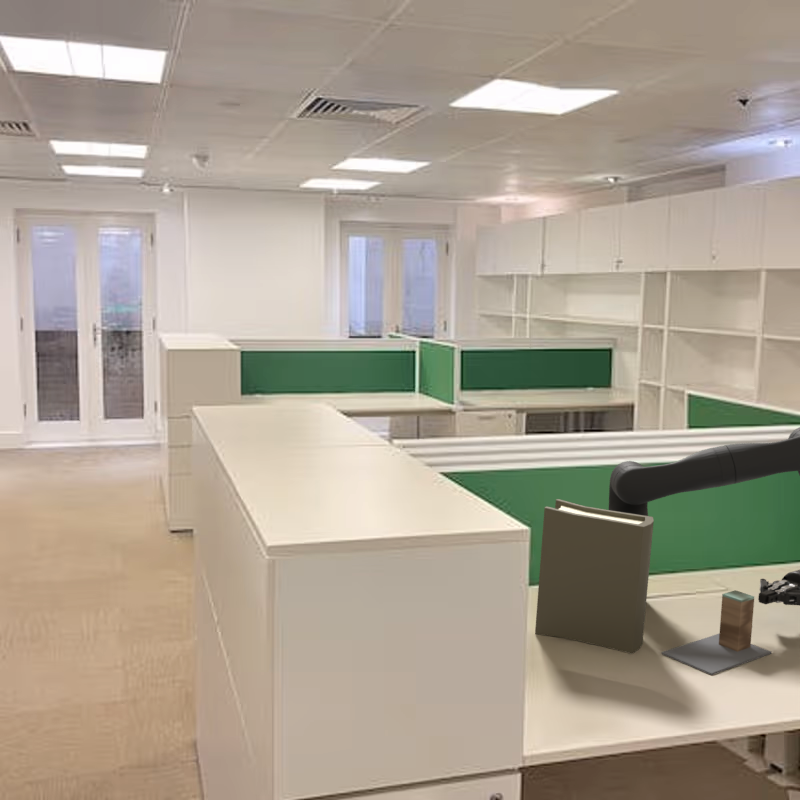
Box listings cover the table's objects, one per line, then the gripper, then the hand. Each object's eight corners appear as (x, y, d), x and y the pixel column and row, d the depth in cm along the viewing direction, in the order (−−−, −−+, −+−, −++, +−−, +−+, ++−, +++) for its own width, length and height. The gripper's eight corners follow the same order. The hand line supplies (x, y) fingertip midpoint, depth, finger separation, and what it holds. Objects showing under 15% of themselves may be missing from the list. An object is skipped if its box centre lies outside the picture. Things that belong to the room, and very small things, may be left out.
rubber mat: (711, 675, 177) (711, 673, 177) (661, 653, 186) (661, 651, 186) (771, 653, 188) (771, 651, 188) (721, 634, 198) (721, 632, 198)
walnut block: (737, 651, 188) (741, 600, 186) (718, 644, 191) (722, 593, 190) (750, 647, 190) (754, 596, 189) (731, 639, 194) (735, 590, 192)
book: (645, 641, 194) (656, 514, 190) (635, 657, 186) (647, 524, 182) (548, 620, 204) (557, 498, 200) (535, 634, 195) (544, 507, 191)
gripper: (781, 561, 209) (736, 573, 199) (837, 577, 199) (792, 590, 189) (779, 592, 210) (733, 606, 200) (834, 610, 200) (789, 625, 190)
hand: (762, 598), depth 195 cm, fingers closed
